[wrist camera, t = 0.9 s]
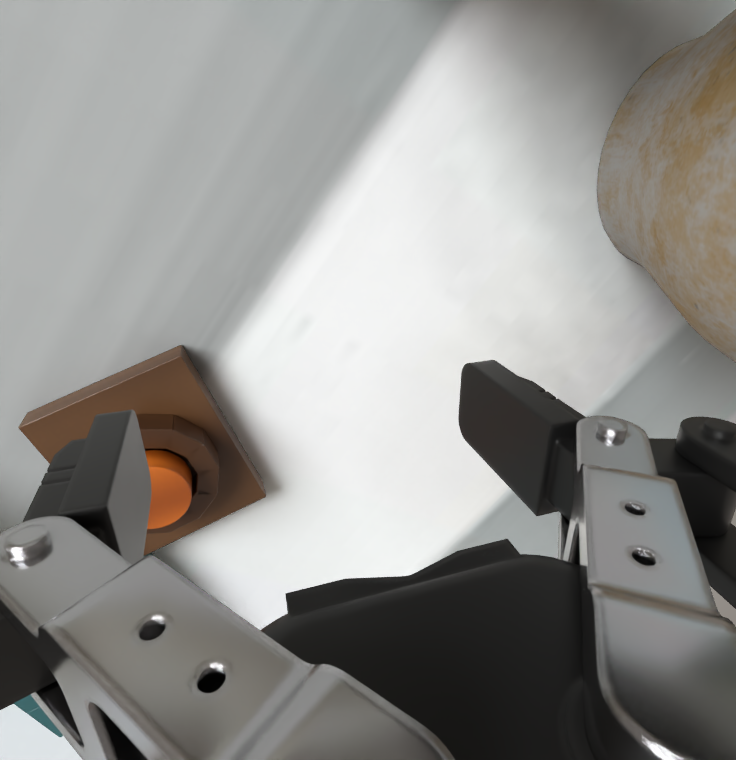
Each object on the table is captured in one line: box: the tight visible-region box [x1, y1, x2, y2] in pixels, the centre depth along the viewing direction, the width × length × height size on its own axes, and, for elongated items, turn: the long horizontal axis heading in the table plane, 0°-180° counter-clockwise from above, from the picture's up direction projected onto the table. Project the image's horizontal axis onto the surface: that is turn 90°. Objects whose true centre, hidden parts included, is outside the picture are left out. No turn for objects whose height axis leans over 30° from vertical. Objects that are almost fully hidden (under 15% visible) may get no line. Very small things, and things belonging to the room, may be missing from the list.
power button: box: [145, 450, 192, 529], centre depth 27 cm, size 4×4×2 cm
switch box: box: [19, 345, 266, 556], centre depth 29 cm, size 11×9×4 cm
